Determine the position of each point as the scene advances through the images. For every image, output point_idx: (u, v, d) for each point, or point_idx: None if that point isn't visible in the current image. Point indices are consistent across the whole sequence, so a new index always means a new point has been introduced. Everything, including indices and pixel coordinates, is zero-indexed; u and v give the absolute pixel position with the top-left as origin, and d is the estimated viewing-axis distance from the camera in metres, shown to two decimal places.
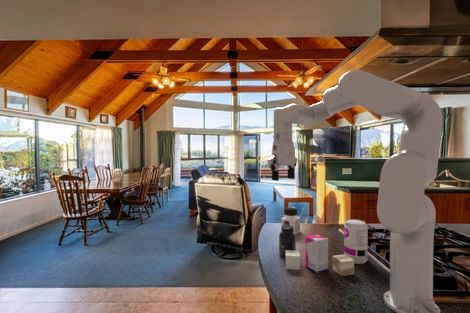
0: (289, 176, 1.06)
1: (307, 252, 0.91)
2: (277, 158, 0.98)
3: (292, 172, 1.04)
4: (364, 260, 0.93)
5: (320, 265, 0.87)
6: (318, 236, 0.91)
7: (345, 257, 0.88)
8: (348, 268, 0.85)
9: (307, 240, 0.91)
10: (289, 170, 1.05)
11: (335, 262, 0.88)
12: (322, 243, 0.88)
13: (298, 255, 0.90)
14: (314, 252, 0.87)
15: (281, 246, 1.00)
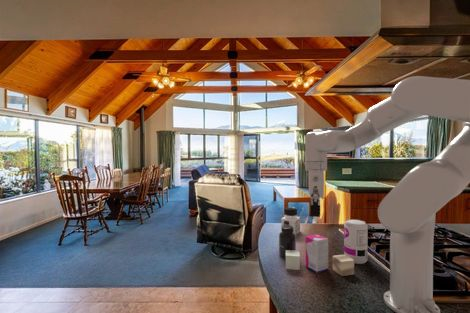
0: None
1: (307, 252, 0.91)
2: (320, 191, 0.85)
3: None
4: (364, 260, 0.93)
5: (320, 265, 0.87)
6: (318, 236, 0.91)
7: (345, 257, 0.88)
8: (348, 268, 0.85)
9: (307, 240, 0.91)
10: None
11: (335, 262, 0.88)
12: (322, 243, 0.88)
13: (298, 255, 0.90)
14: (314, 252, 0.87)
15: (281, 246, 1.00)
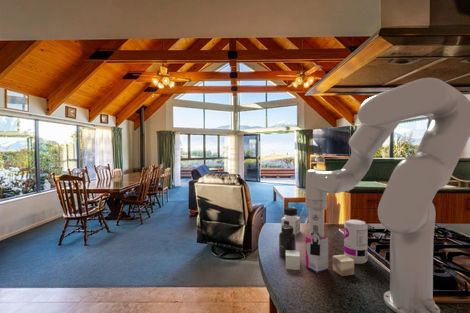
0: None
1: (307, 252, 0.91)
2: (319, 230, 0.85)
3: None
4: (364, 260, 0.93)
5: (320, 265, 0.87)
6: None
7: (345, 257, 0.88)
8: (349, 268, 0.85)
9: (307, 240, 0.91)
10: (314, 235, 0.95)
11: (335, 262, 0.88)
12: (322, 243, 0.88)
13: (298, 255, 0.90)
14: None
15: (281, 246, 1.00)
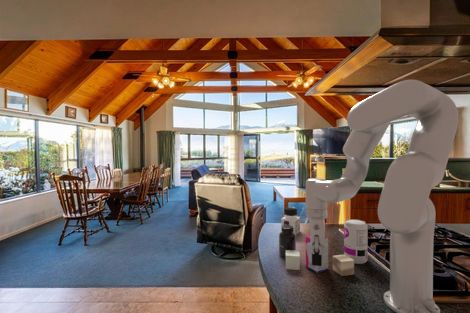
0: None
1: (307, 252, 0.91)
2: (321, 241, 0.85)
3: None
4: (364, 260, 0.93)
5: None
6: (318, 236, 0.91)
7: (345, 257, 0.88)
8: (348, 268, 0.85)
9: (307, 240, 0.91)
10: None
11: (335, 262, 0.88)
12: None
13: (298, 255, 0.90)
14: None
15: (281, 246, 1.00)
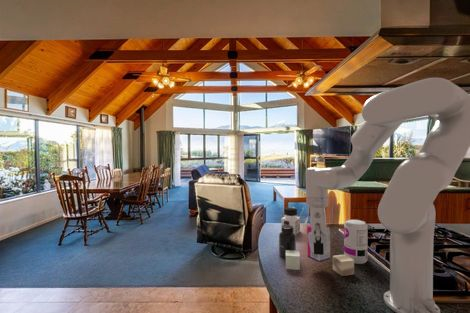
0: None
1: (309, 242, 0.90)
2: (322, 229, 0.84)
3: None
4: (364, 260, 0.93)
5: None
6: None
7: (345, 257, 0.88)
8: (348, 268, 0.85)
9: (308, 230, 0.90)
10: None
11: (335, 262, 0.88)
12: None
13: (298, 255, 0.90)
14: None
15: (281, 246, 1.00)
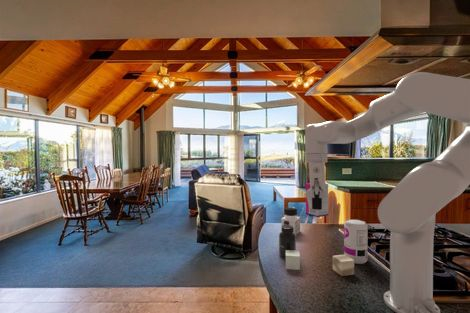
0: None
1: (307, 199, 0.90)
2: (321, 184, 0.84)
3: None
4: (364, 260, 0.93)
5: (321, 210, 0.87)
6: None
7: (345, 257, 0.88)
8: (348, 268, 0.85)
9: (307, 187, 0.90)
10: None
11: (335, 262, 0.88)
12: None
13: (298, 255, 0.90)
14: None
15: (281, 246, 1.00)
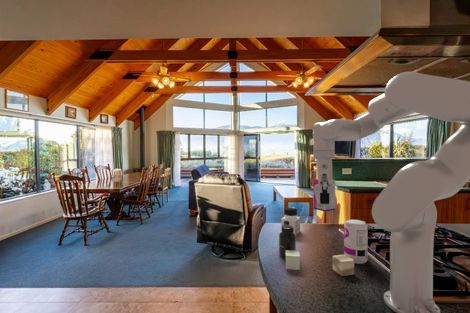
0: None
1: (315, 194, 0.94)
2: (328, 179, 0.88)
3: None
4: (364, 260, 0.93)
5: (328, 205, 0.91)
6: None
7: (345, 257, 0.88)
8: (348, 268, 0.85)
9: (315, 182, 0.94)
10: None
11: (334, 262, 0.88)
12: None
13: (298, 255, 0.90)
14: None
15: (281, 246, 1.00)
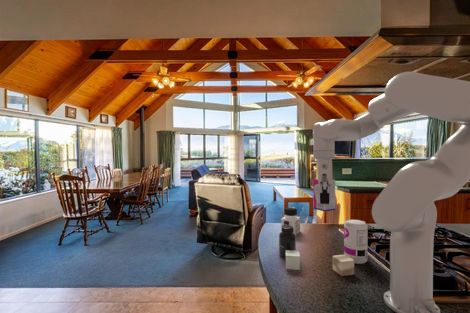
0: None
1: (315, 194, 0.94)
2: (328, 179, 0.88)
3: None
4: (364, 260, 0.93)
5: (328, 205, 0.91)
6: None
7: (345, 257, 0.88)
8: (348, 268, 0.85)
9: (315, 182, 0.94)
10: None
11: (335, 262, 0.88)
12: None
13: (298, 255, 0.90)
14: None
15: (281, 246, 1.00)
